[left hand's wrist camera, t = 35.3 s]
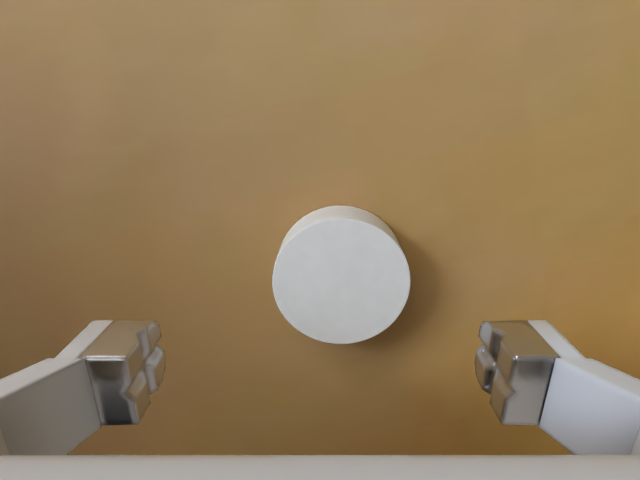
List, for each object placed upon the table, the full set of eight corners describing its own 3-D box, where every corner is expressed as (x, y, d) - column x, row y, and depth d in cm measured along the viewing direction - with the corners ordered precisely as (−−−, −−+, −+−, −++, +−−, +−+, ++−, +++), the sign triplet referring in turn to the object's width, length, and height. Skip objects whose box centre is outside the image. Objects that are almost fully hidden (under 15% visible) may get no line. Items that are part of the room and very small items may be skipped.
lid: (358, 179, 16) (362, 190, 14) (424, 280, 17) (435, 302, 15) (253, 248, 17) (243, 267, 15) (323, 338, 18) (322, 365, 17)
